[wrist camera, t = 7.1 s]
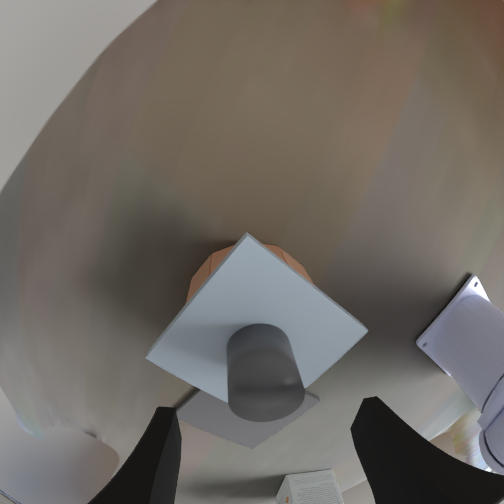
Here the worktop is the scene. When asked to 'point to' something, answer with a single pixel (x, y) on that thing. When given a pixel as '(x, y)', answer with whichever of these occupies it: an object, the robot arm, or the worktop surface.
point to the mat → (233, 419)
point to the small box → (310, 488)
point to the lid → (256, 334)
